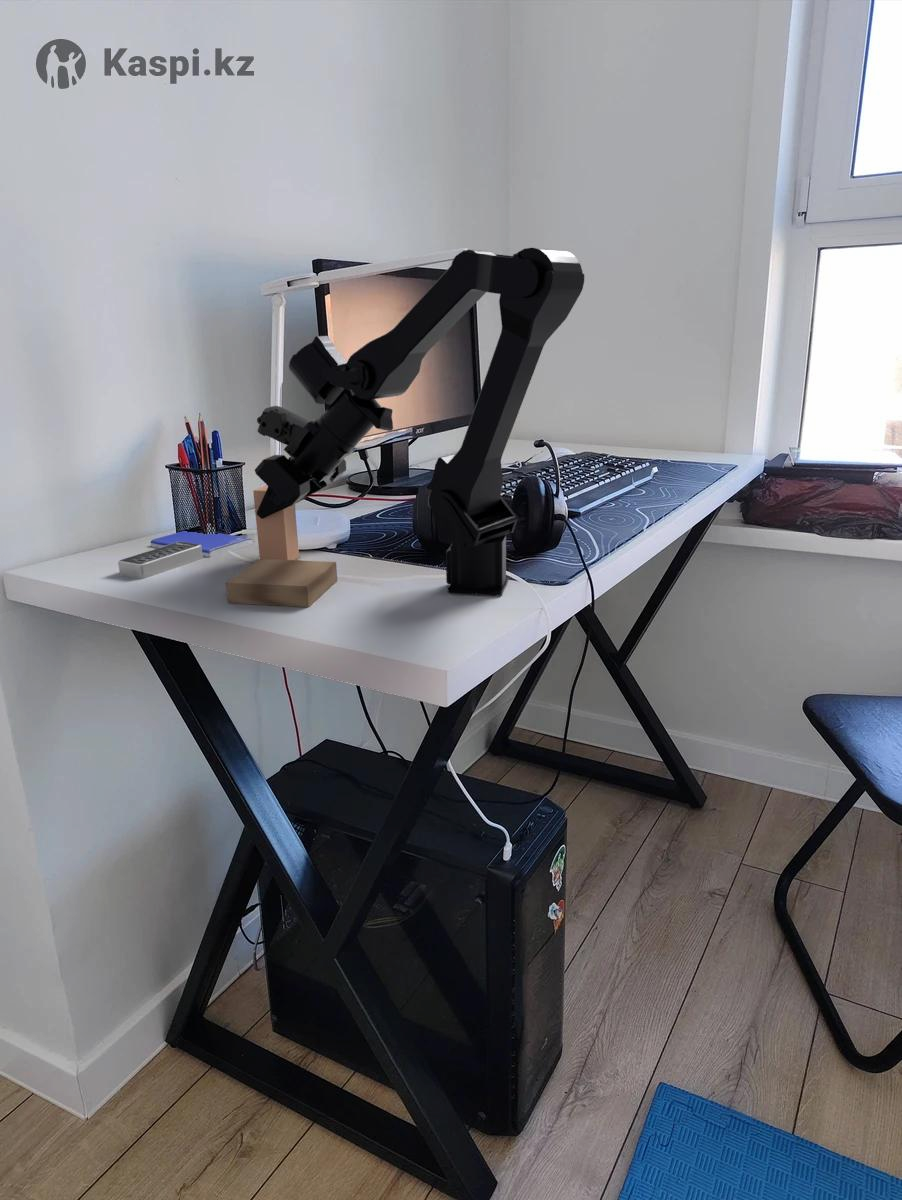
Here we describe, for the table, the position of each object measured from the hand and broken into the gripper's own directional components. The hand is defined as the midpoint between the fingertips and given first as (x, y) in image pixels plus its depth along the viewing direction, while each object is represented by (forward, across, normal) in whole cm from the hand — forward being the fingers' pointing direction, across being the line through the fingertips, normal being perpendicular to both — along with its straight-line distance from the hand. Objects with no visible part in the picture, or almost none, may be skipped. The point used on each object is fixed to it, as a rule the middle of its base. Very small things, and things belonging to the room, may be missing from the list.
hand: (265, 512), depth 115 cm
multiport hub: (+15, +5, -4) cm, 16 cm away
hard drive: (+15, -6, -4) cm, 16 cm away
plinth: (-1, +13, +10) cm, 16 cm away
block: (+4, 0, +6) cm, 7 cm away
